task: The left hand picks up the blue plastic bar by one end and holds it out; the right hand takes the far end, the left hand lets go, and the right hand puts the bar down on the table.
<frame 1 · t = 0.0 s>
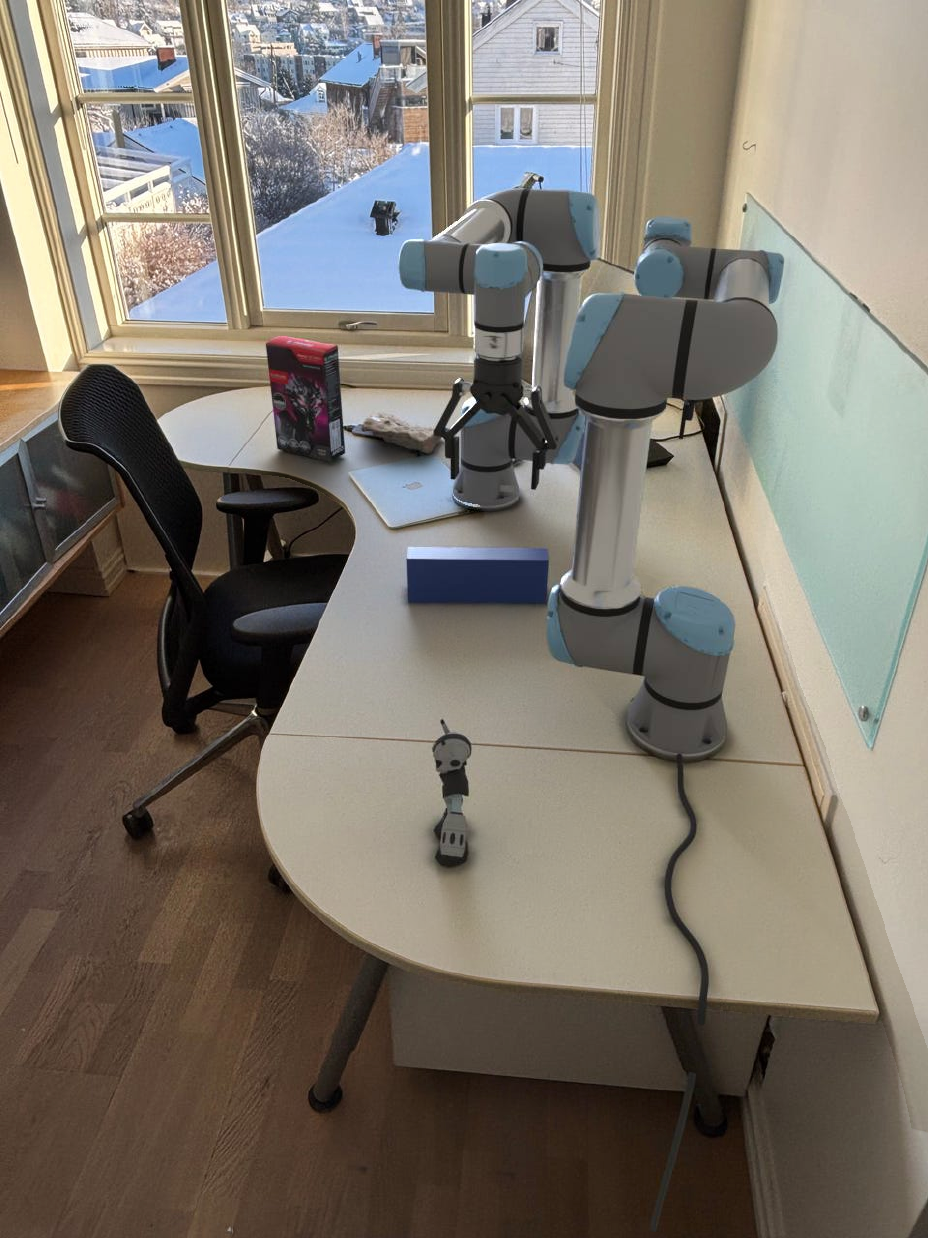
left hand: (494, 481, 152), 28 cm above the table, tool pointing down, fingers open, 13 cm apart
right hand: (643, 432, 170), 28 cm above the table, tool pointing down, fingers open, 13 cm apart
stone: (399, 442, 235), on the table
bar: (476, 596, 175), on the table
graphics card box: (311, 452, 230), on the table
robot: (451, 844, 123), on the table
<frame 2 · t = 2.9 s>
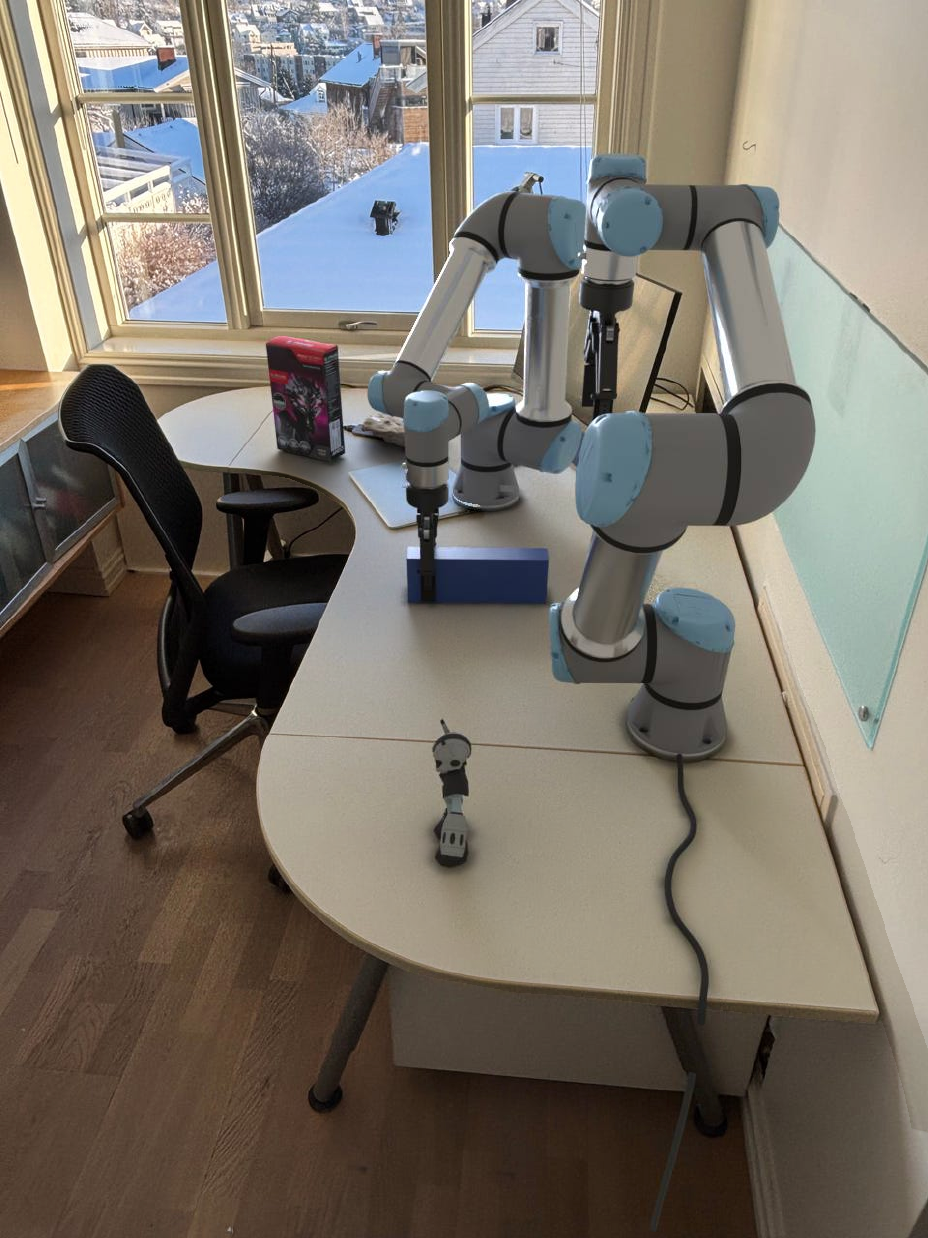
left hand: (428, 593, 175), 1 cm above the table, tool pointing down, fingers closed on bar, 4 cm apart
right hand: (594, 422, 140), 41 cm above the table, tool pointing down, fingers open, 13 cm apart
bar: (476, 596, 175), on the table, touching left hand
everything else where it was.
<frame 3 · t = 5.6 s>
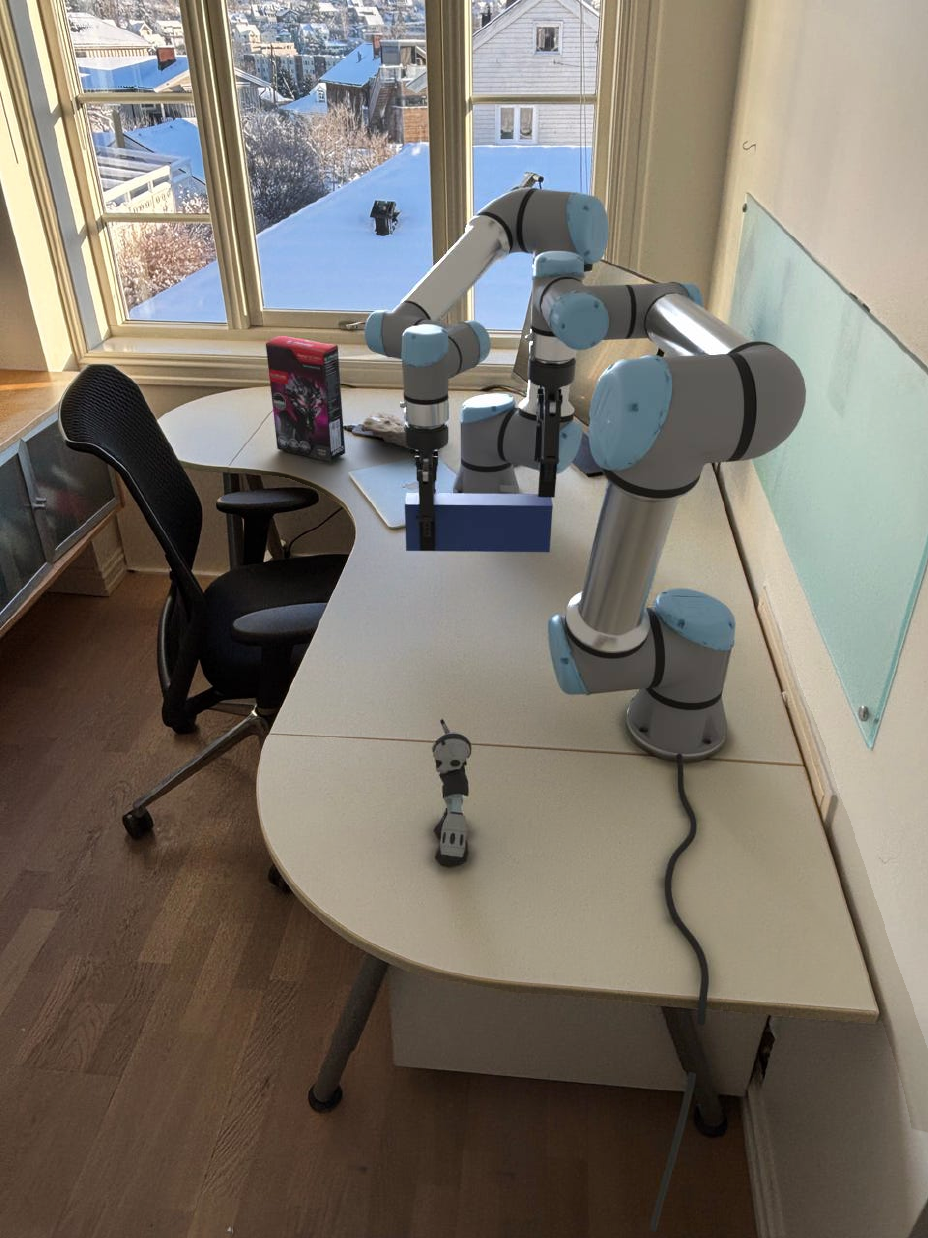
left hand: (428, 542, 168), 12 cm above the table, tool pointing down, fingers closed on bar, 4 cm apart
right hand: (543, 477, 158), 26 cm above the table, tool pointing down, fingers open, 13 cm apart
bar: (477, 545, 169), point 11 cm above the table, touching left hand
everything else where it was.
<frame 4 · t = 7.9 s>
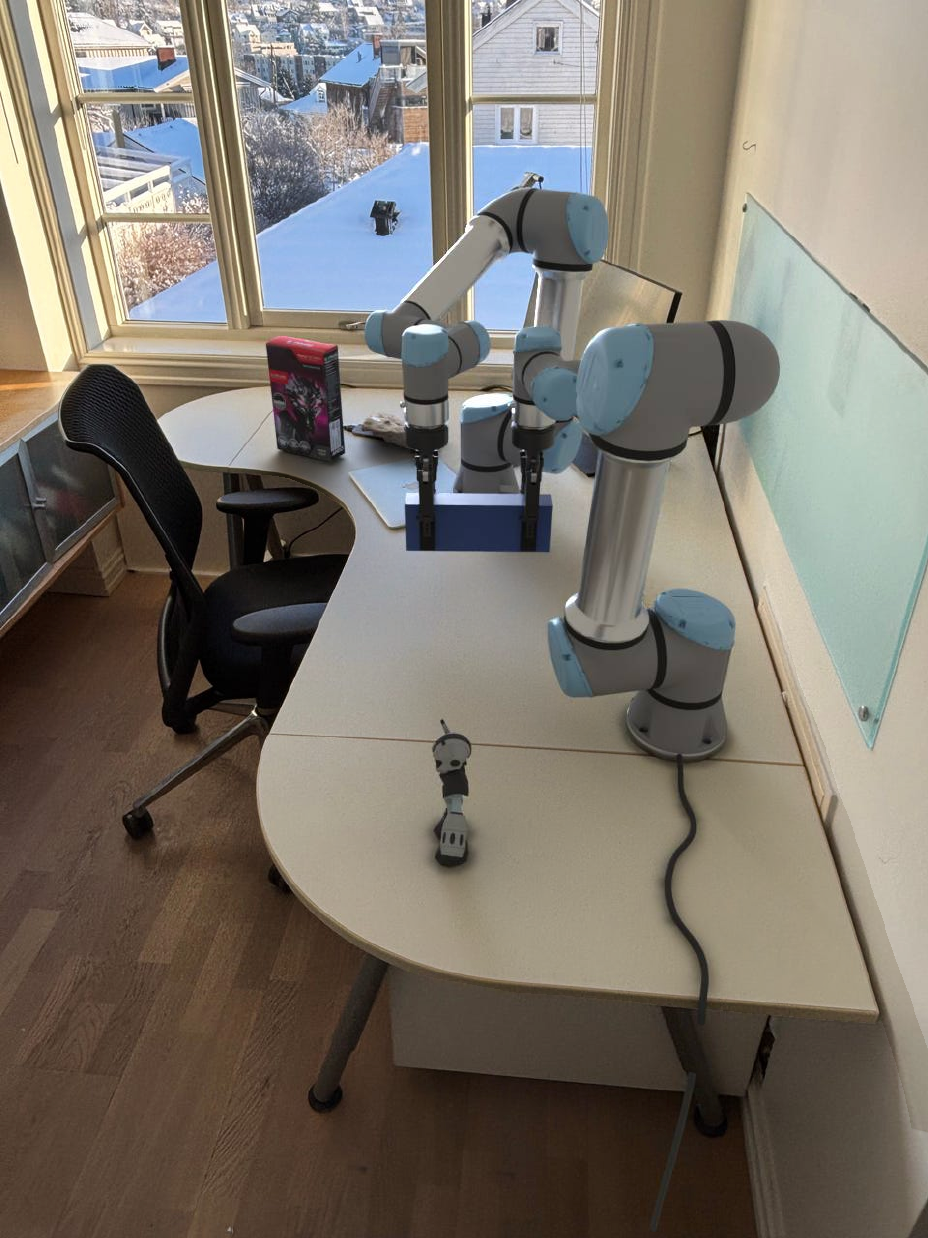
left hand: (428, 542, 168), 12 cm above the table, tool pointing down, fingers closed on bar, 4 cm apart
right hand: (527, 542, 168), 12 cm above the table, tool pointing down, fingers closed on bar, 4 cm apart
bar: (477, 545, 169), point 11 cm above the table, touching right hand, left hand
everything else where it was.
when the left hand's fingers open (12 cm above the table, at t = 8.4 s): bar stays where it is, held by the right hand.
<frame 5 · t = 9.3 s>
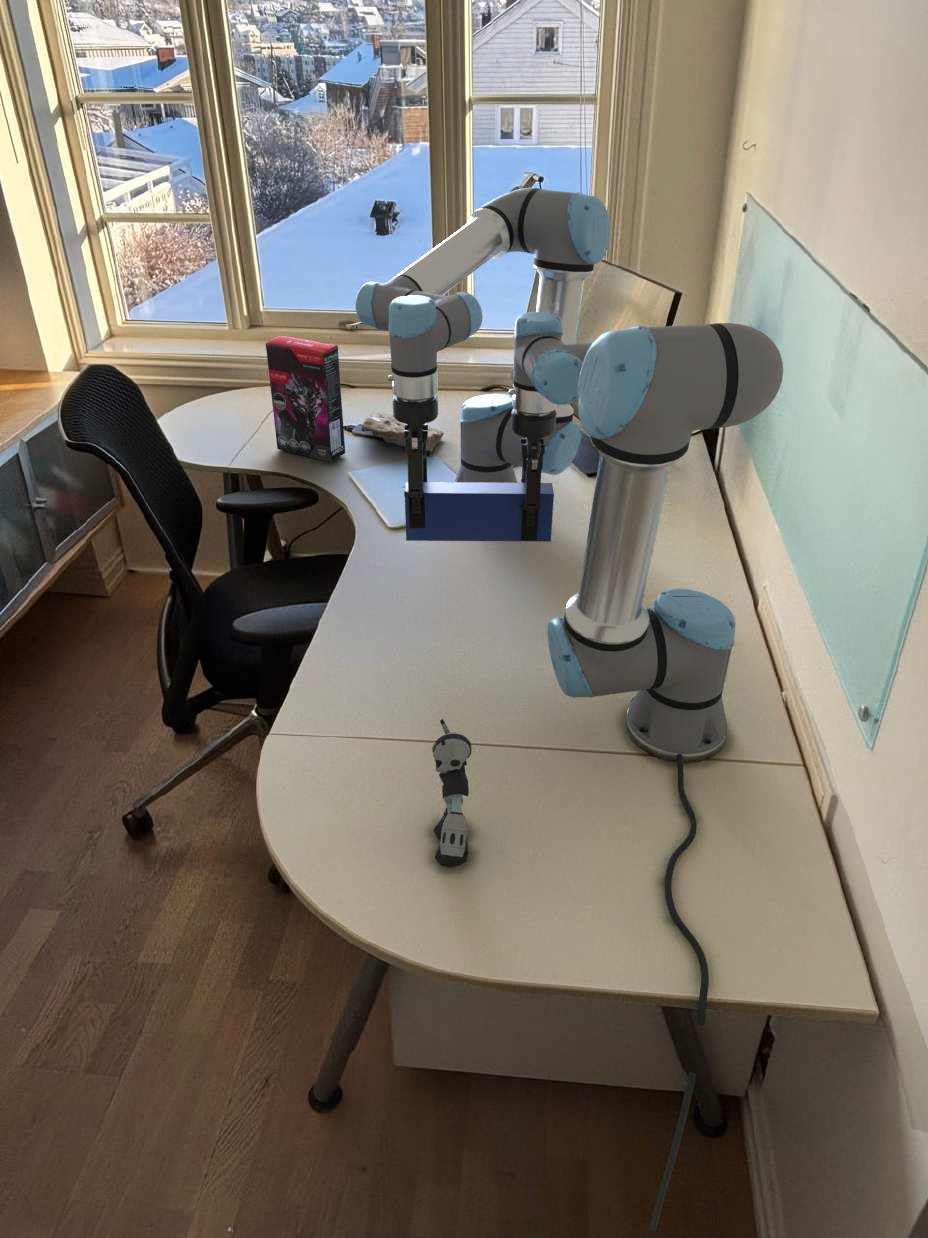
left hand: (418, 508, 165), 18 cm above the table, tool pointing down, fingers open, 13 cm apart
right hand: (528, 532, 167), 14 cm above the table, tool pointing down, fingers closed on bar, 4 cm apart
bar: (478, 535, 167), point 13 cm above the table, touching right hand
everything else where it was.
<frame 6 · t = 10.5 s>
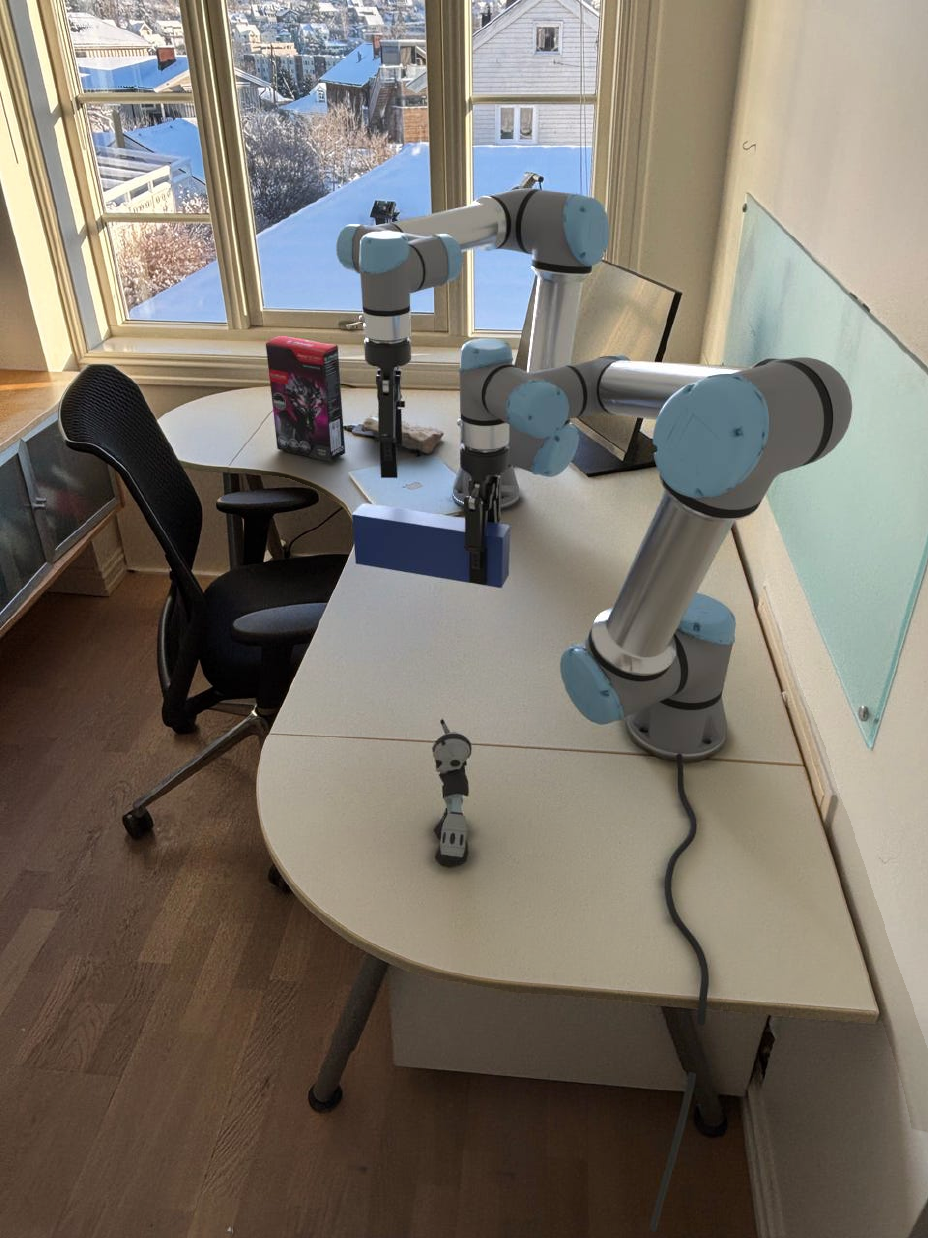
left hand: (392, 460, 159), 28 cm above the table, tool pointing down, fingers open, 13 cm apart
right hand: (482, 574, 154), 14 cm above the table, tool pointing down, fingers closed on bar, 4 cm apart
bar: (431, 569, 156), point 14 cm above the table, touching right hand
everything else where it was.
when the right hand's fingers open (2 cm above the table, at t = 13.3 s): bar drops 1 cm, on the table.
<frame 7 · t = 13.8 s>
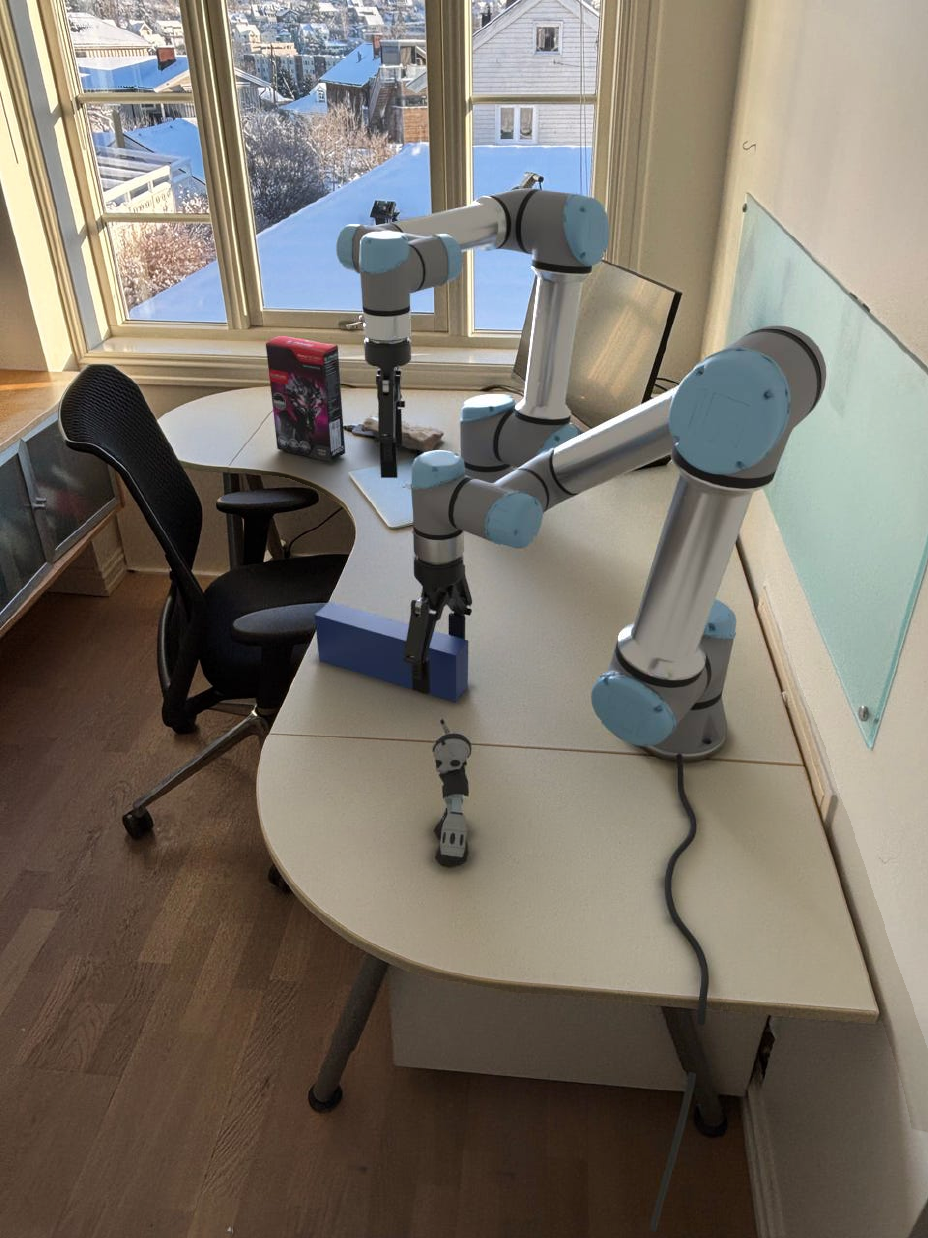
left hand: (392, 460, 159), 28 cm above the table, tool pointing down, fingers open, 13 cm apart
right hand: (439, 669, 149), 4 cm above the table, tool pointing down, fingers open, 12 cm apart
bar: (392, 673, 155), on the table
everything else where it was.
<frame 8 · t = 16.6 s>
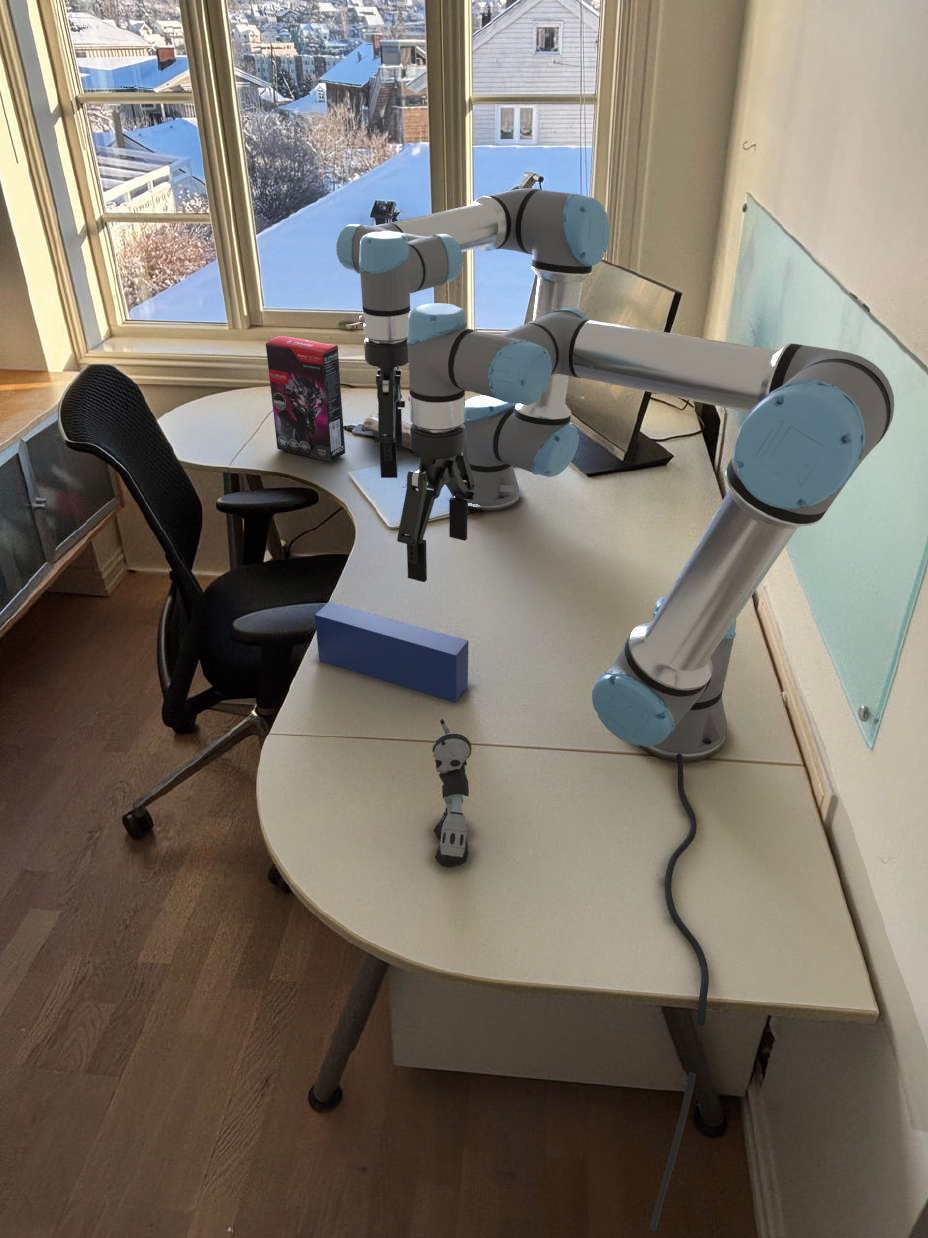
left hand: (392, 460, 159), 28 cm above the table, tool pointing down, fingers open, 13 cm apart
right hand: (438, 557, 138), 25 cm above the table, tool pointing down, fingers open, 13 cm apart
nothing on the table moved.
at the end: bar inside the target area (8.9 cm from its centre), on the table; the left hand is holding nothing; the right hand is holding nothing; bar at rest at the end (0.0 cm/s) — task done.
